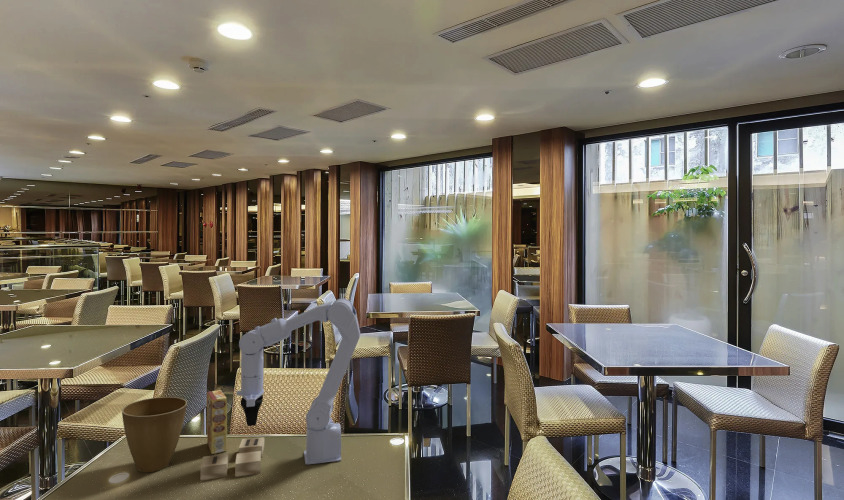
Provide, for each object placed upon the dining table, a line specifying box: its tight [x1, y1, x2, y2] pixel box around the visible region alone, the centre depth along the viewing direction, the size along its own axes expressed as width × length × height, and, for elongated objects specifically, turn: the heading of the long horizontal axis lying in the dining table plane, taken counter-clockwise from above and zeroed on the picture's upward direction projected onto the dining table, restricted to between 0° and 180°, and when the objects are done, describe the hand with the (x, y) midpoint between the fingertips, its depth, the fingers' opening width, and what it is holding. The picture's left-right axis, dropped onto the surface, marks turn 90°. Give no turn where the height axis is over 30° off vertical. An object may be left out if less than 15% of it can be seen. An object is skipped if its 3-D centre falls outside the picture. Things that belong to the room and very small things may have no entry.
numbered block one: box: [199, 453, 229, 481], centre depth 120 cm, size 6×6×4 cm
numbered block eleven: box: [238, 436, 265, 459], centre depth 131 cm, size 6×6×4 cm
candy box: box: [206, 389, 228, 455], centre depth 135 cm, size 9×4×15 cm, turn 33°
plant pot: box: [121, 396, 188, 473], centre depth 123 cm, size 15×15×16 cm
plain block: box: [234, 451, 262, 478], centre depth 122 cm, size 6×6×4 cm
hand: (251, 424), depth 128 cm, fingers closed
